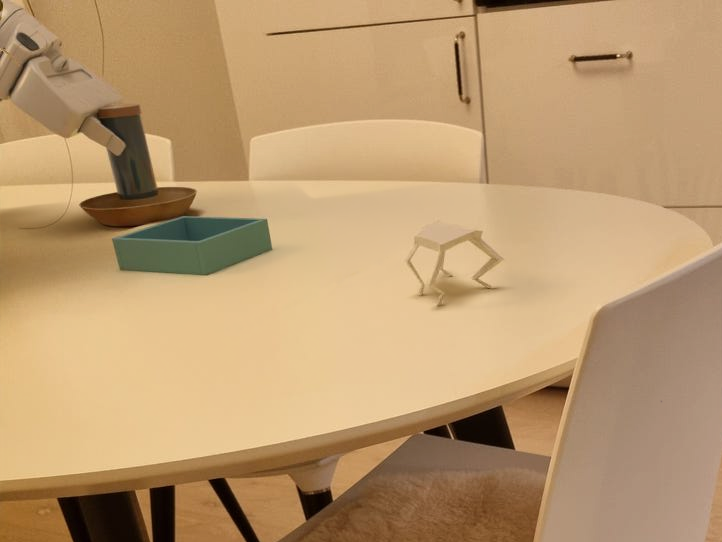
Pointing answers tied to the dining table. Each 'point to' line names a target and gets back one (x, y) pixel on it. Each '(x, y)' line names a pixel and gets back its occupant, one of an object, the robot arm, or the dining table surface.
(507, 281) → the dining table surface
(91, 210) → the plant saucer
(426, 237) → the cream legged block
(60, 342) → the dining table surface
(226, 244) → the green shallow square box
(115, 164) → the jar
